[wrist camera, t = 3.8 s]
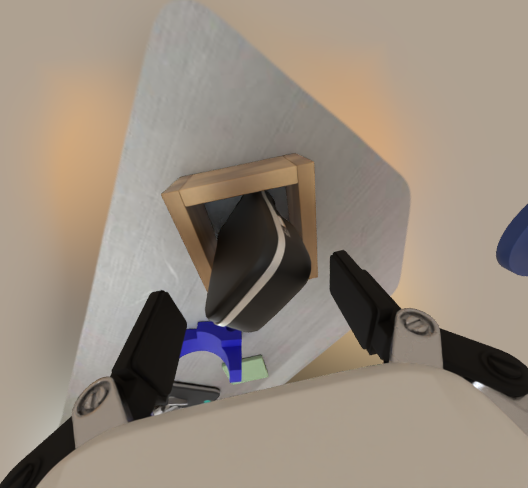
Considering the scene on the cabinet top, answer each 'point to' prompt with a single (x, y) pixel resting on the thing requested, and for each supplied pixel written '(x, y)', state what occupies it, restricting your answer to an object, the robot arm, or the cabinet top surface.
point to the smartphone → (192, 394)
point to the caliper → (172, 403)
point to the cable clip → (216, 345)
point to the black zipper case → (255, 265)
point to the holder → (235, 184)
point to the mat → (250, 369)
